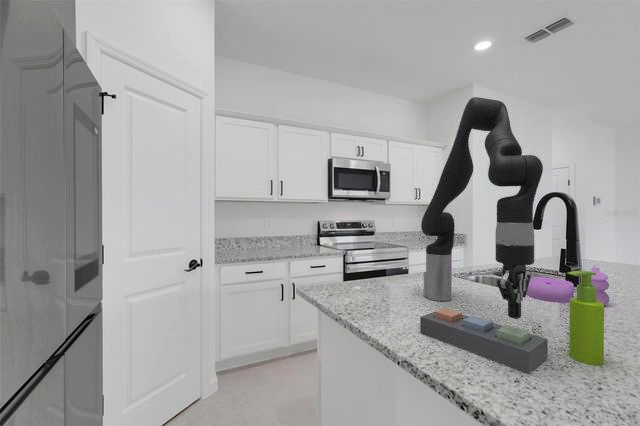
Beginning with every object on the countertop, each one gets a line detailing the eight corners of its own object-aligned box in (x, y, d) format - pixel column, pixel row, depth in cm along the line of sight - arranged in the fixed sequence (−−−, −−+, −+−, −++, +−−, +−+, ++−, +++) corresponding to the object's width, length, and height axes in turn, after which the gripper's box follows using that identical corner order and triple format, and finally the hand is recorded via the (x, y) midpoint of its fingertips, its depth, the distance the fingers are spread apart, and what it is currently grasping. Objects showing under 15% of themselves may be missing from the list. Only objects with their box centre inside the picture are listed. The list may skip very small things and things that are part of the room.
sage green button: (496, 342, 70) (496, 330, 70) (506, 337, 73) (506, 325, 73) (521, 350, 66) (521, 337, 66) (529, 344, 69) (529, 331, 69)
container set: (521, 297, 118) (521, 263, 118) (528, 290, 129) (528, 259, 129) (610, 312, 101) (610, 272, 101) (608, 302, 113) (608, 266, 112)
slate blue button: (463, 331, 77) (463, 320, 77) (472, 327, 80) (473, 315, 80) (483, 338, 73) (483, 326, 73) (493, 333, 76) (493, 321, 75)
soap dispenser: (558, 353, 71) (559, 269, 71) (585, 352, 72) (586, 268, 72) (582, 366, 66) (582, 274, 65) (611, 364, 66) (612, 273, 66)
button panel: (420, 332, 83) (420, 316, 83) (442, 324, 90) (442, 309, 90) (528, 373, 62) (528, 352, 62) (547, 358, 69) (547, 338, 69)
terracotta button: (434, 322, 83) (434, 311, 83) (444, 318, 86) (444, 308, 86) (451, 328, 79) (451, 316, 79) (461, 323, 82) (461, 312, 82)
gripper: (508, 239, 76) (508, 308, 76) (483, 242, 69) (483, 319, 68) (544, 242, 70) (544, 316, 70) (521, 245, 63) (521, 329, 62)
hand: (514, 317), depth 69 cm, fingers closed
